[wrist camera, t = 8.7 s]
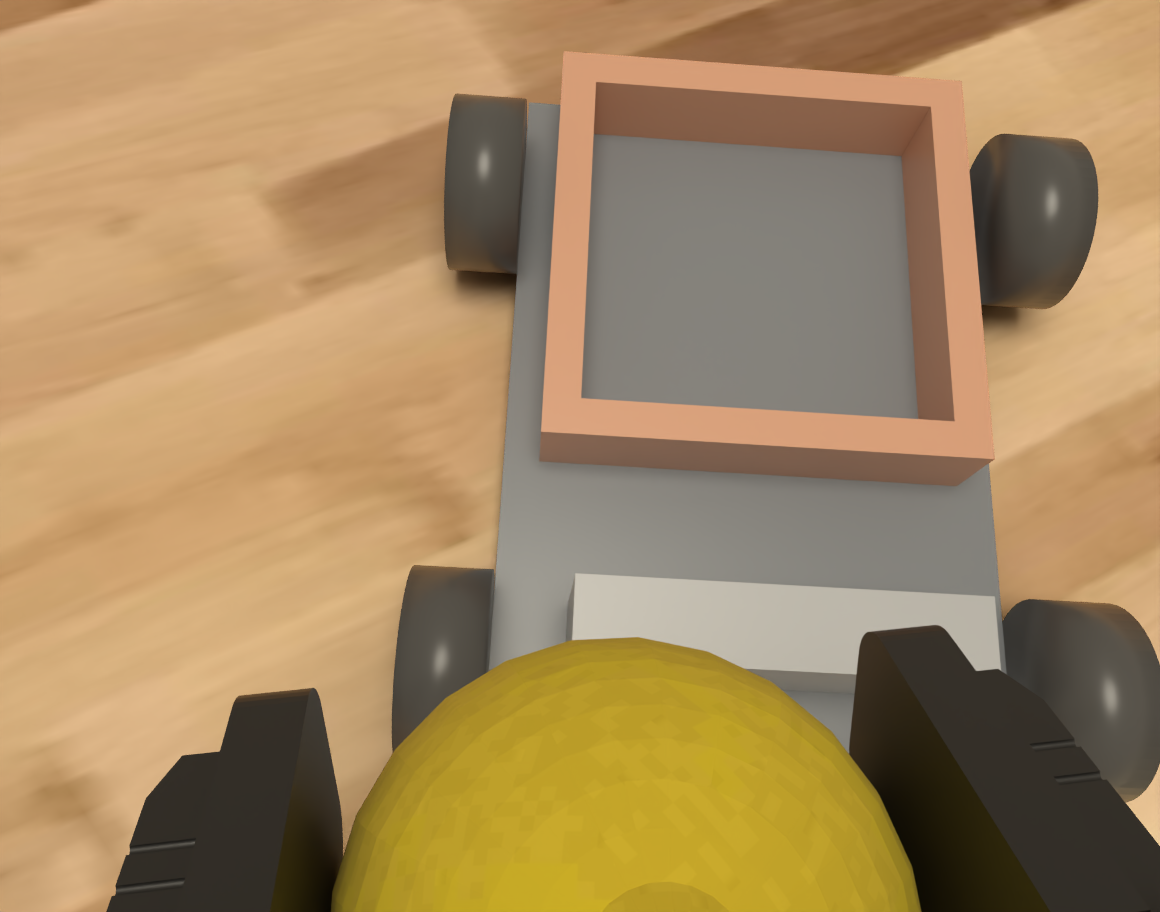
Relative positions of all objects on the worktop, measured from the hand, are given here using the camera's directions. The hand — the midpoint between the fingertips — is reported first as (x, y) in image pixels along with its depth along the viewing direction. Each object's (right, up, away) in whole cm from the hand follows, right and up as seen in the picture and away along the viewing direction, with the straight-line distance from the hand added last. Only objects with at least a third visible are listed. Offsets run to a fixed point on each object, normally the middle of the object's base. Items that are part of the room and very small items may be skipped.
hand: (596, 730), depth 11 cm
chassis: (+5, +3, +20) cm, 21 cm away
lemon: (0, -3, +4) cm, 5 cm away
